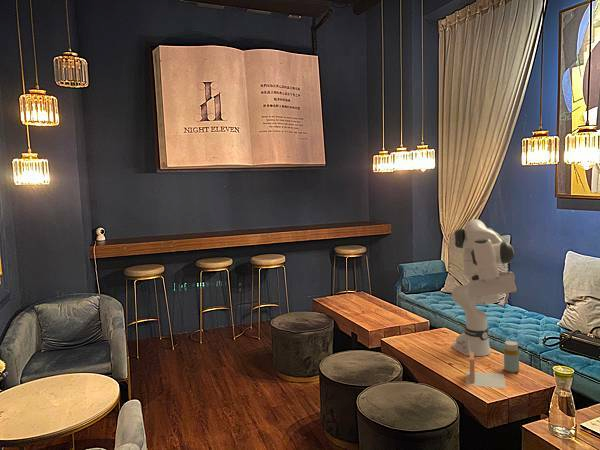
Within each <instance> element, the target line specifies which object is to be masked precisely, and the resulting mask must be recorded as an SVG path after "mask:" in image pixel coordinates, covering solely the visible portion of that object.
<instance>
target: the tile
mask: <svg viewBox="0 0 600 450" xmlns="http://www.w3.org/2000/svg"><path fill="white" fill-rule="evenodd" d="M469 371H470V383H475V372H476V370H475V356H474V352H470V355H469Z"/></svg>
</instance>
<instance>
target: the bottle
mask: <svg viewBox="0 0 600 450" xmlns="http://www.w3.org/2000/svg"><path fill="white" fill-rule="evenodd" d="M518 348H519V343H518V341H515V340H506V341H504V350H503V366H504V367H503V368H504V369H503V370H504V371H505V372H507V373H512V374H517V373H519V372H520V352H519V351H520V350H519V349H518Z"/></svg>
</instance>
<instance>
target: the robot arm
mask: <svg viewBox="0 0 600 450" xmlns="http://www.w3.org/2000/svg"><path fill="white" fill-rule="evenodd" d="M452 240H453V244H454V246H455V247H456V248H458V249H463V253H462V254H463V256H462V257H463V273H464V275H465V276H466V277H467V278H468V280H469V283H468V284H462V285H456V286H454V288H453V289H452V291H451V298H452V300H453V302H454V303H455V304H457V305H459V306H460V307H461V309H462V310H463V313H464V314H465V323H466V325H465V326H463V327H462V329H463V330H464V331H463V332H462V333H460V334H458V336H456V338H455V342H454V343H452V344H451V347H452V348H453V349H454V350H456V351H458V352H459V353H461V354H463V355H465V356H467V357H468V356H469V357H470V352H474V357H485V356H489V355H490V354H491V353H492V350H491V346H490V340H489V328H488V316H487V313H486V312H485V311H483V310H481V309H479V308H477V307H476V305H482V307H486V306H487V305H491V304H495V303H498V302H499V301H500V298H501V295H502V294H505V296H506V297H505V298H503V302H504V304H509V302H508V300H509V297H510V293H516V291H517V290H518V289H517V286H516V283H515V280H516V276H515V273H514V272H513V271H508V270H507V271H502V272H500V270H499V265H501V264H511V262H512V261H513V260H514V259H515V250H514V248H513V246H512V245H511V243H509V242H507V241H506V240H505V239H504V238H503V237H502V236H501V235H500V234H499V233H498V232H497V231H494V229H493V228H491V227H487V226H486V225H485V223H484V221H481V219H471V220H469V221H468V222H466V225H465V228H459V229H456V230H455V231H454V232H453V236H452Z"/></svg>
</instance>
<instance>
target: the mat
mask: <svg viewBox="0 0 600 450" xmlns="http://www.w3.org/2000/svg"><path fill="white" fill-rule="evenodd" d="M465 386H472V387H483V386H484V387H485V388H497V389H506V388H507V387H506V381H505V374H504V373H496V372H484V371H483V372H482V371H475V383H470V370H469V371H468V370H465ZM484 387H483V388H484Z"/></svg>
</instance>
